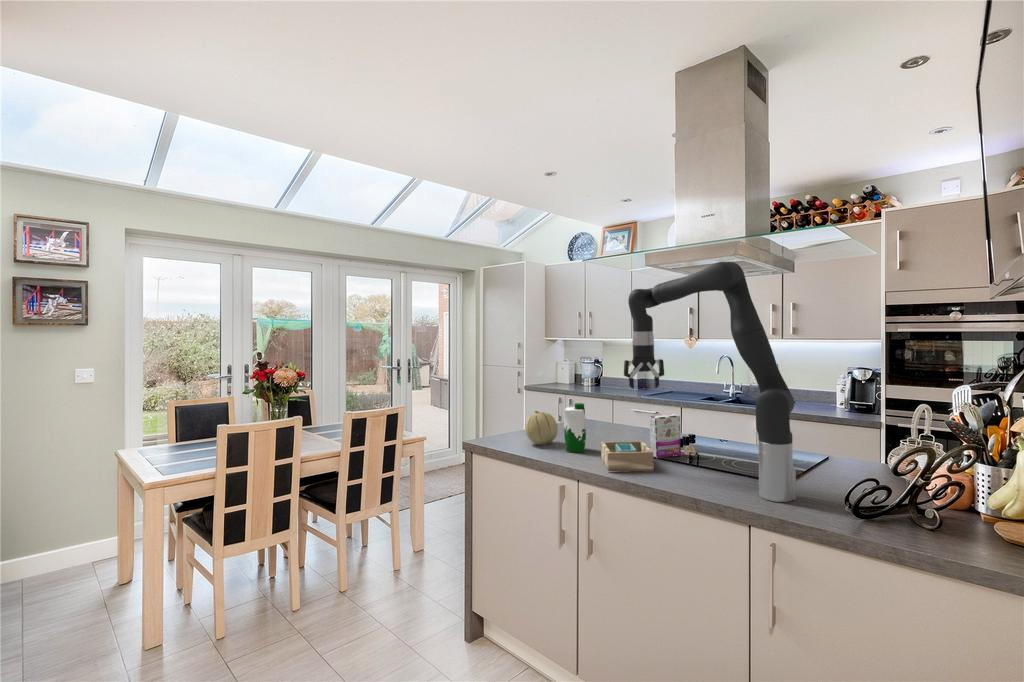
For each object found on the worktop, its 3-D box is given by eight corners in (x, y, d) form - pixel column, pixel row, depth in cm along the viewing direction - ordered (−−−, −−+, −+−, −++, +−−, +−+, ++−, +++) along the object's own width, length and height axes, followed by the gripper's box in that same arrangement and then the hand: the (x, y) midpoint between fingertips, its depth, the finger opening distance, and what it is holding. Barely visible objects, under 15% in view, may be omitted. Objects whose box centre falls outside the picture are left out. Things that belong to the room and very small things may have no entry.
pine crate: (601, 459, 205) (600, 442, 205) (642, 458, 205) (642, 441, 204) (608, 472, 188) (607, 453, 187) (653, 471, 187) (653, 452, 187)
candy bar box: (674, 453, 212) (673, 413, 211) (681, 456, 207) (680, 415, 206) (649, 455, 209) (649, 415, 208) (656, 458, 204) (655, 417, 203)
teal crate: (615, 459, 201) (615, 443, 201) (631, 458, 201) (630, 443, 201) (620, 466, 191) (620, 450, 191) (636, 466, 191) (636, 450, 191)
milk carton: (585, 453, 215) (584, 405, 215) (563, 452, 217) (562, 405, 217) (586, 448, 224) (585, 402, 223) (566, 447, 226) (564, 402, 225)
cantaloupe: (551, 449, 223) (550, 415, 223) (520, 447, 230) (519, 413, 229) (562, 441, 237) (562, 409, 236) (533, 439, 243) (532, 408, 242)
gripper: (625, 344, 185) (626, 390, 185) (665, 343, 184) (666, 388, 185) (621, 343, 192) (622, 387, 193) (660, 342, 192) (661, 386, 192)
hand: (644, 388), depth 189 cm, fingers open, 8 cm apart
